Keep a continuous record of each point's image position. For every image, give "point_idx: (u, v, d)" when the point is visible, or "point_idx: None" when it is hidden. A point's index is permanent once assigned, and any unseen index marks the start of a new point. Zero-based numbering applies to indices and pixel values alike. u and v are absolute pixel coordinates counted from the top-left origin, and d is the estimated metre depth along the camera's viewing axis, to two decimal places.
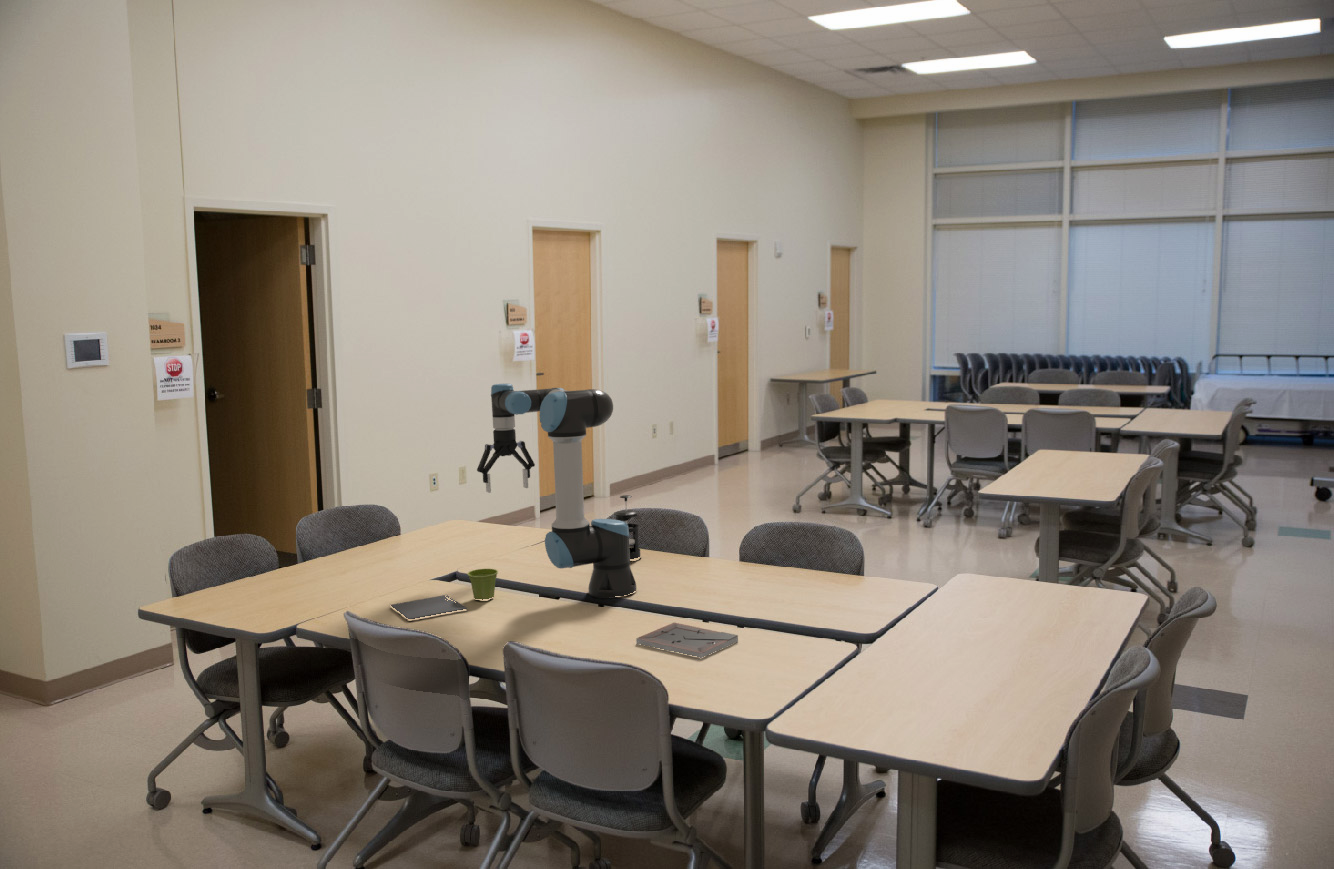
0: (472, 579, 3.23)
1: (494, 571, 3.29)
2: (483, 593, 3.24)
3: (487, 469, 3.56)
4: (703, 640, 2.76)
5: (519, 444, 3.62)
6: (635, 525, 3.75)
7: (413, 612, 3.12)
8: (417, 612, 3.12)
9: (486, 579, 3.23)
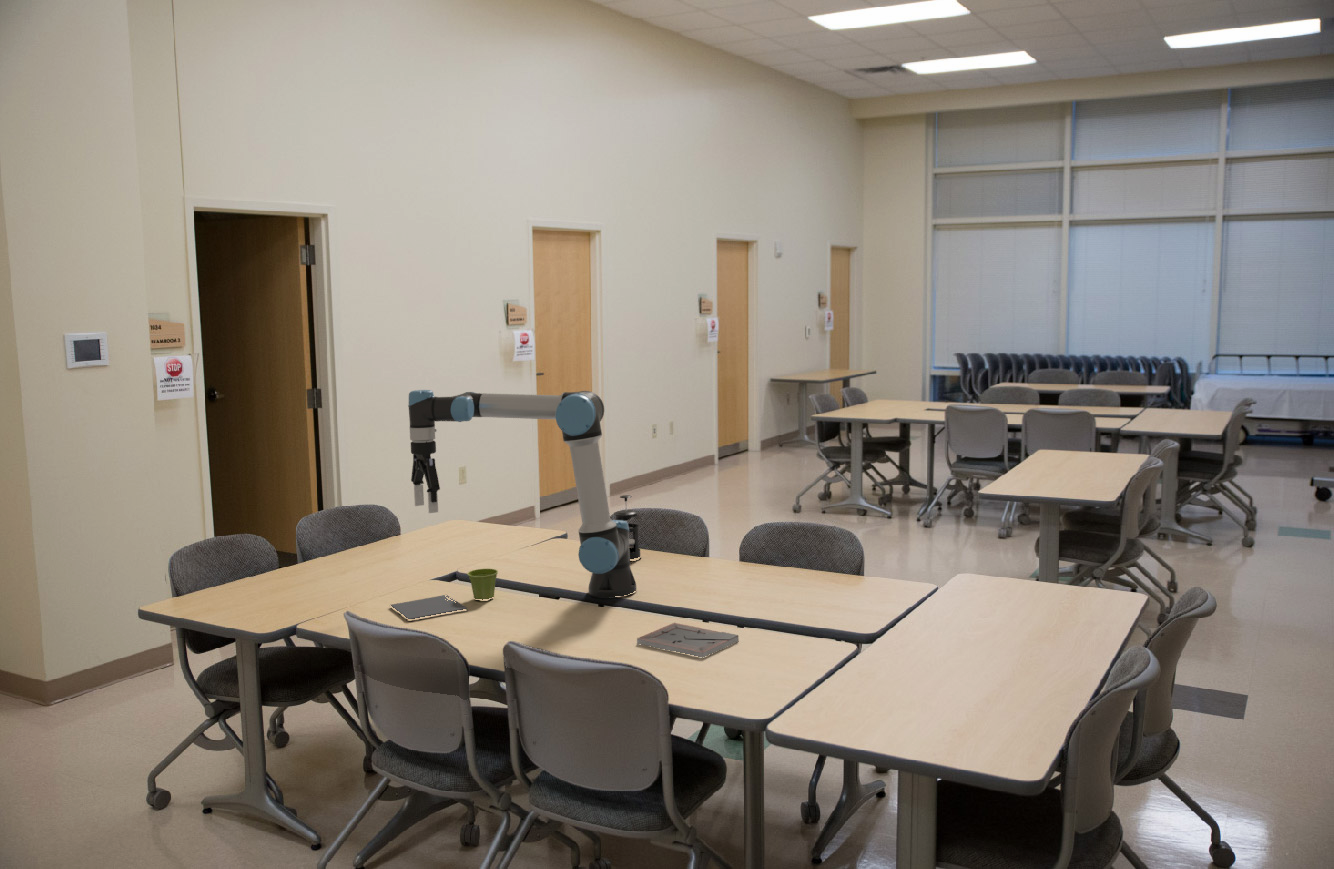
0: (472, 579, 3.23)
1: (494, 571, 3.29)
2: (483, 593, 3.24)
3: (414, 480, 3.27)
4: (704, 640, 2.77)
5: None
6: (635, 525, 3.75)
7: (413, 612, 3.12)
8: (417, 612, 3.12)
9: (486, 579, 3.23)
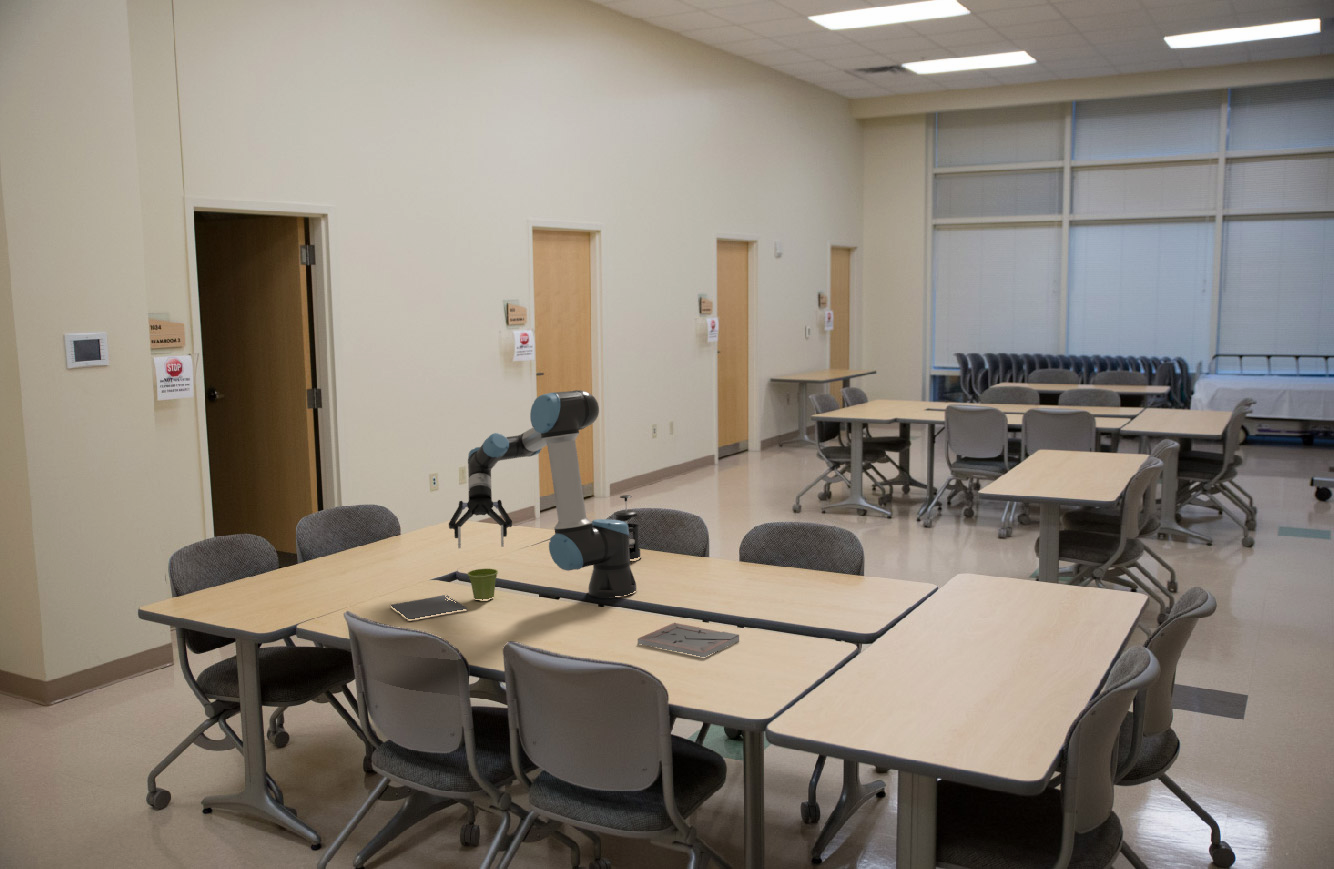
0: (472, 579, 3.23)
1: (494, 571, 3.29)
2: (483, 593, 3.24)
3: None
4: (705, 640, 2.77)
5: None
6: (635, 525, 3.75)
7: (413, 612, 3.12)
8: (417, 612, 3.12)
9: (486, 579, 3.23)
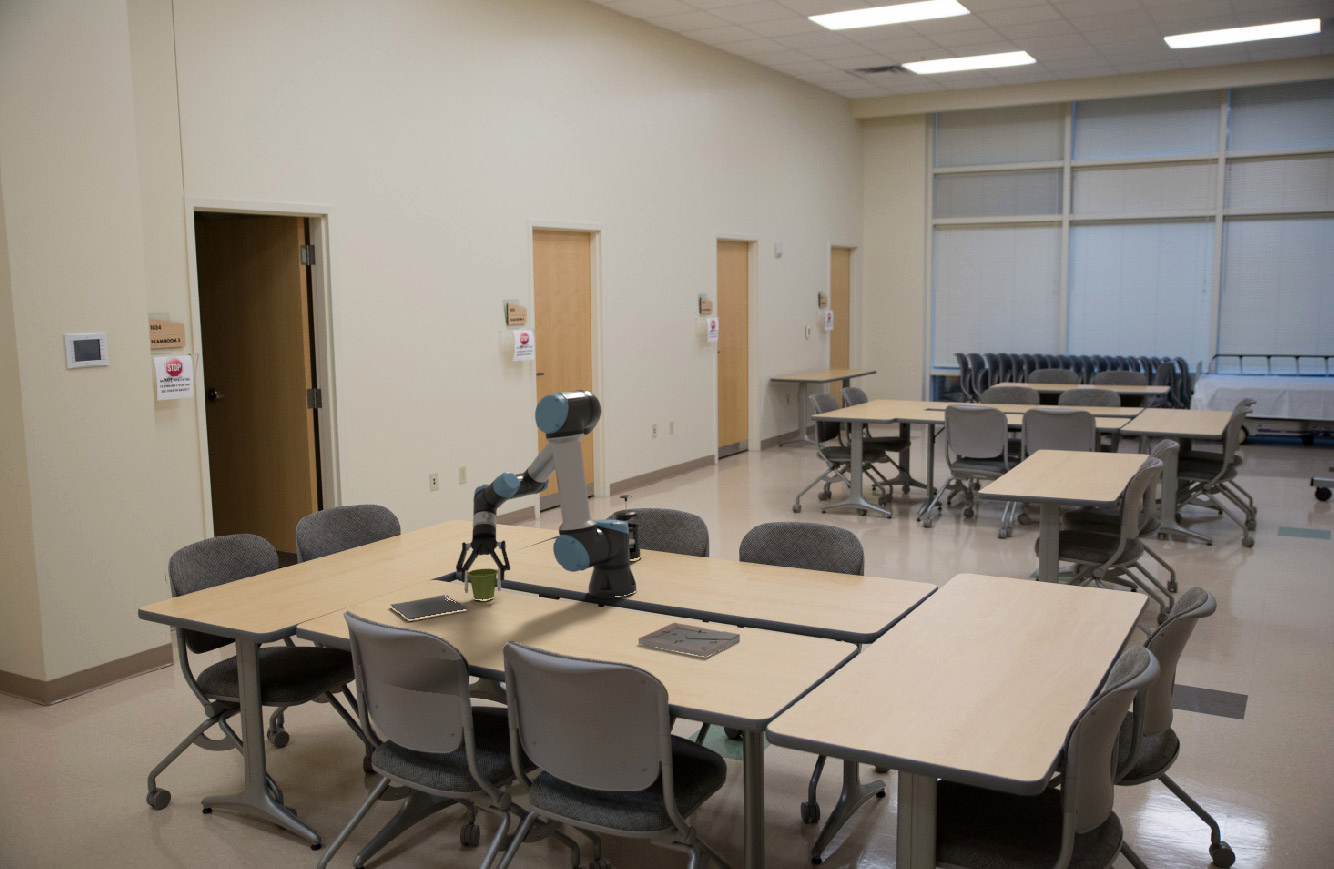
0: (472, 579, 3.23)
1: (494, 571, 3.29)
2: (483, 593, 3.24)
3: None
4: (705, 639, 2.77)
5: None
6: (635, 525, 3.75)
7: (413, 612, 3.12)
8: (417, 612, 3.12)
9: (486, 579, 3.23)
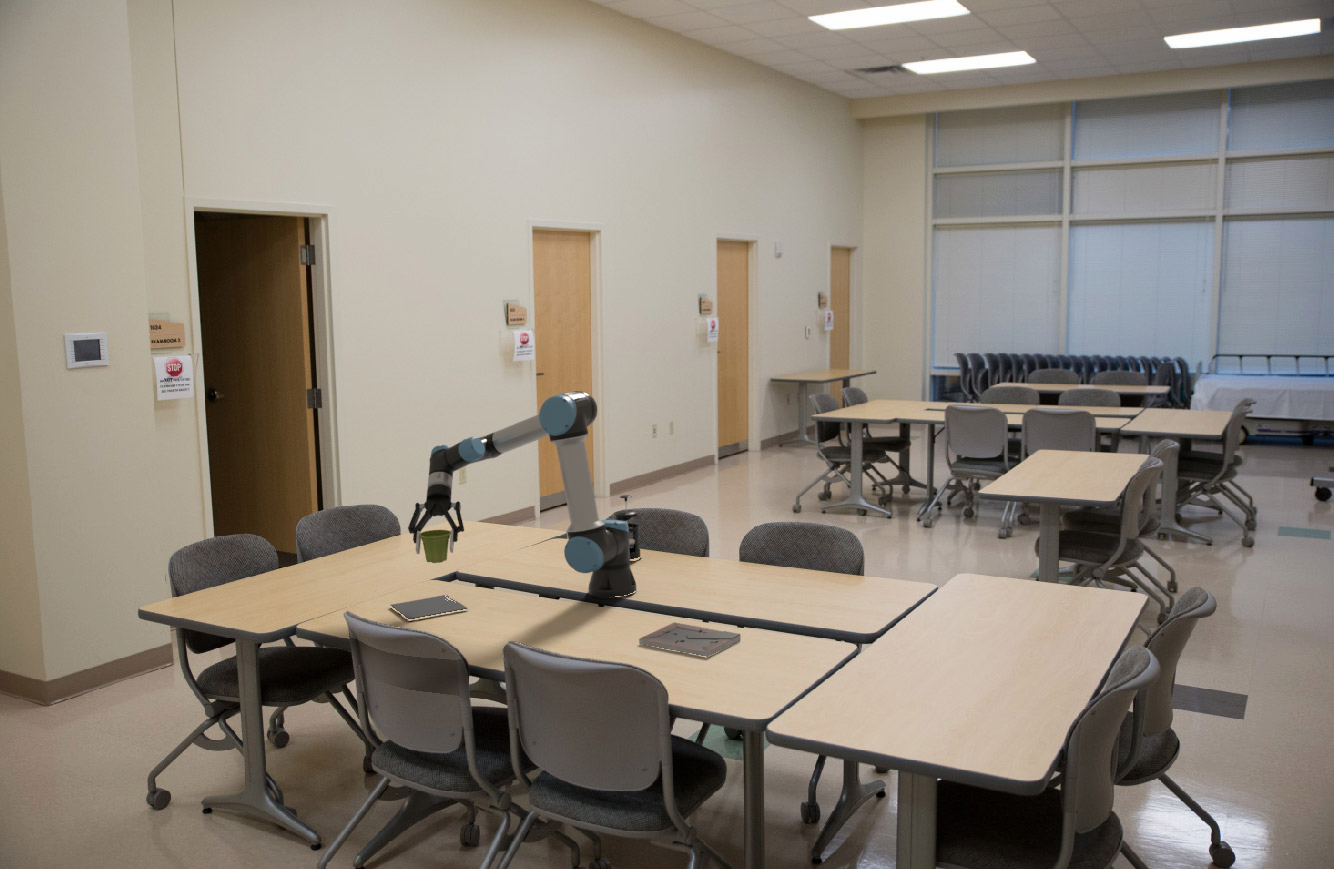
0: (424, 540, 3.15)
1: (447, 532, 3.21)
2: (435, 554, 3.15)
3: None
4: (706, 639, 2.77)
5: None
6: (635, 525, 3.75)
7: (413, 612, 3.12)
8: (417, 612, 3.12)
9: (438, 539, 3.14)
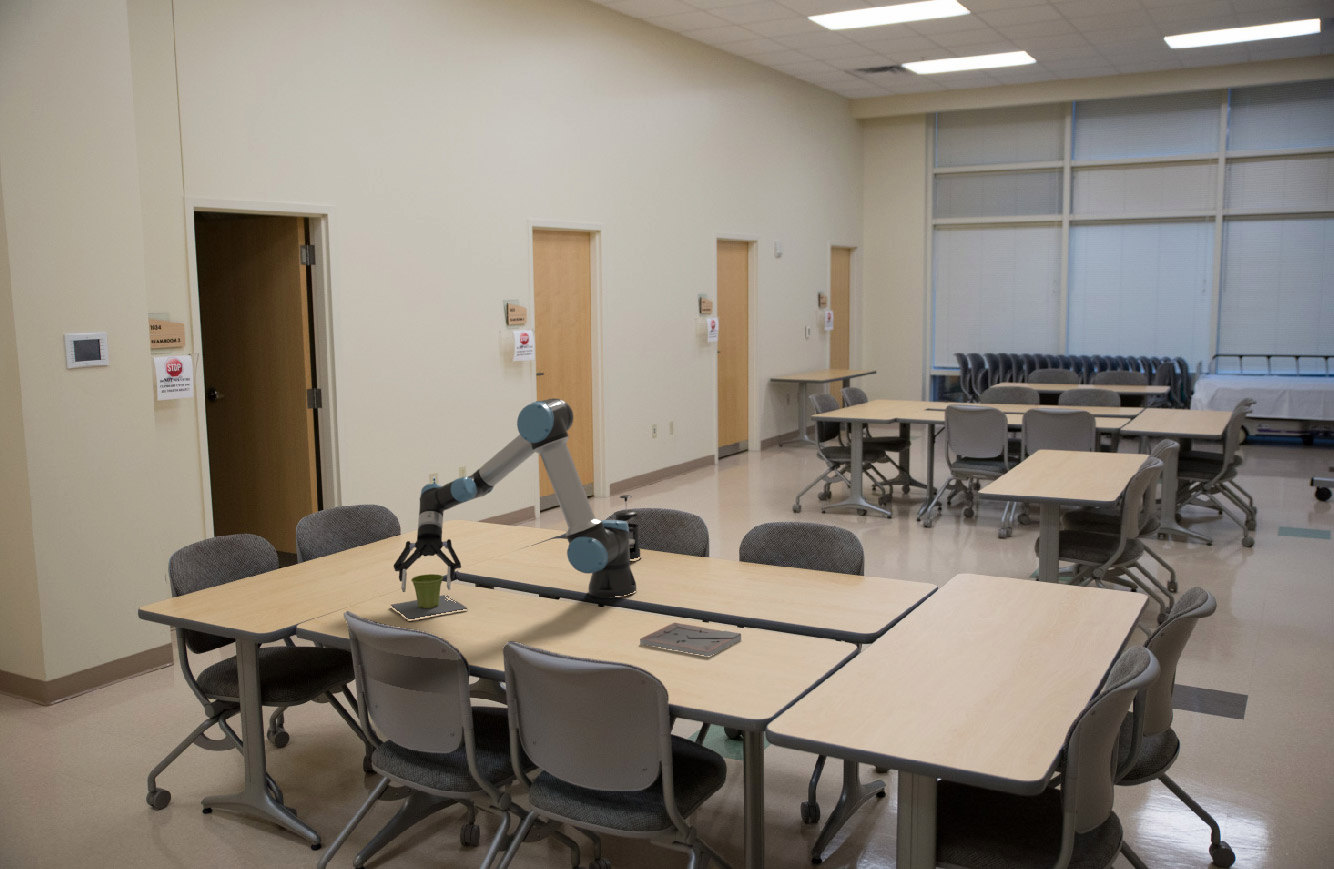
0: (416, 585, 3.14)
1: (439, 577, 3.20)
2: (427, 599, 3.15)
3: None
4: (707, 639, 2.77)
5: None
6: (635, 525, 3.75)
7: (413, 612, 3.12)
8: (417, 612, 3.12)
9: (430, 584, 3.14)
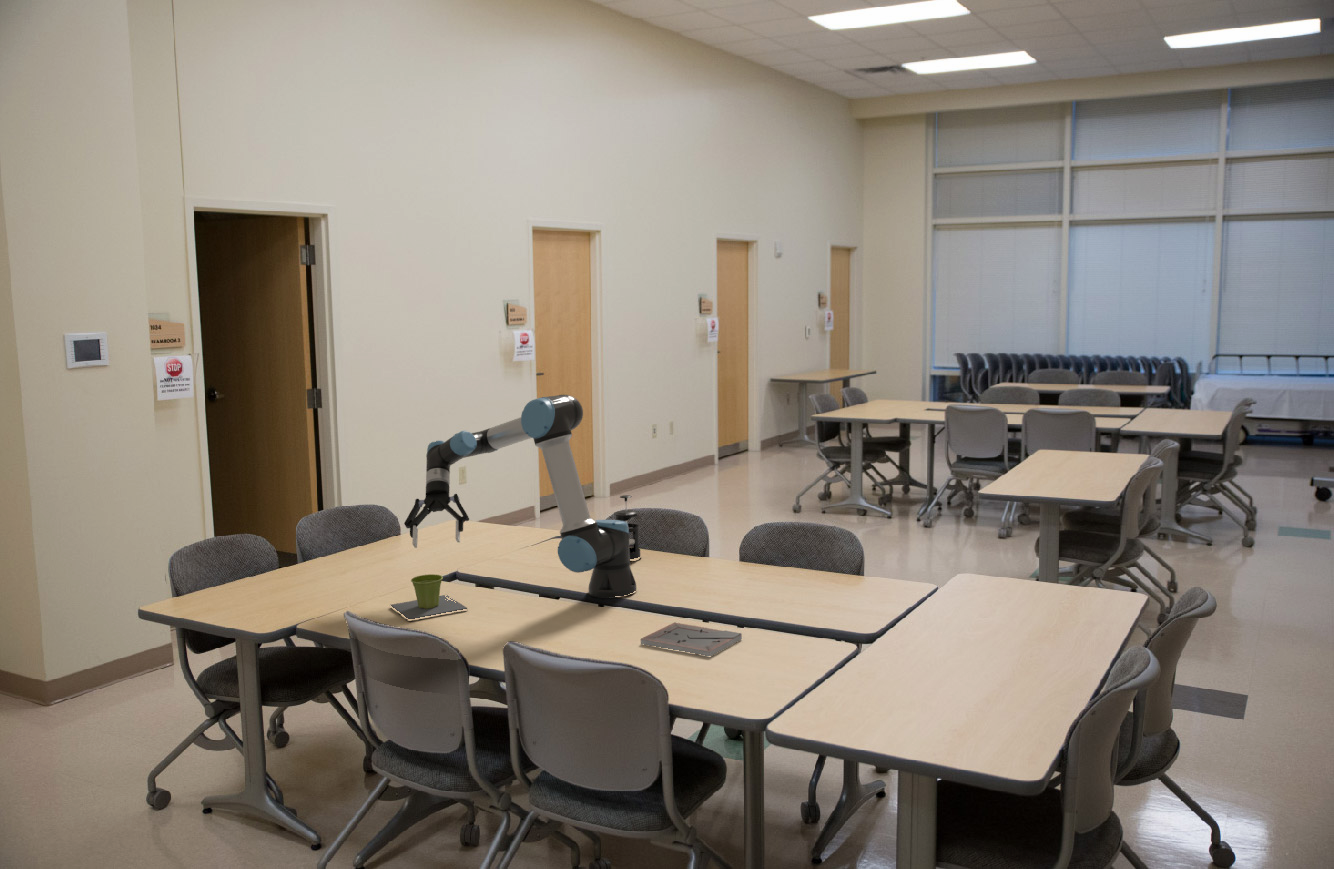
0: (415, 585, 3.14)
1: (439, 577, 3.20)
2: (427, 600, 3.15)
3: None
4: (708, 639, 2.77)
5: None
6: (635, 525, 3.75)
7: (413, 612, 3.12)
8: (417, 612, 3.12)
9: (429, 585, 3.14)
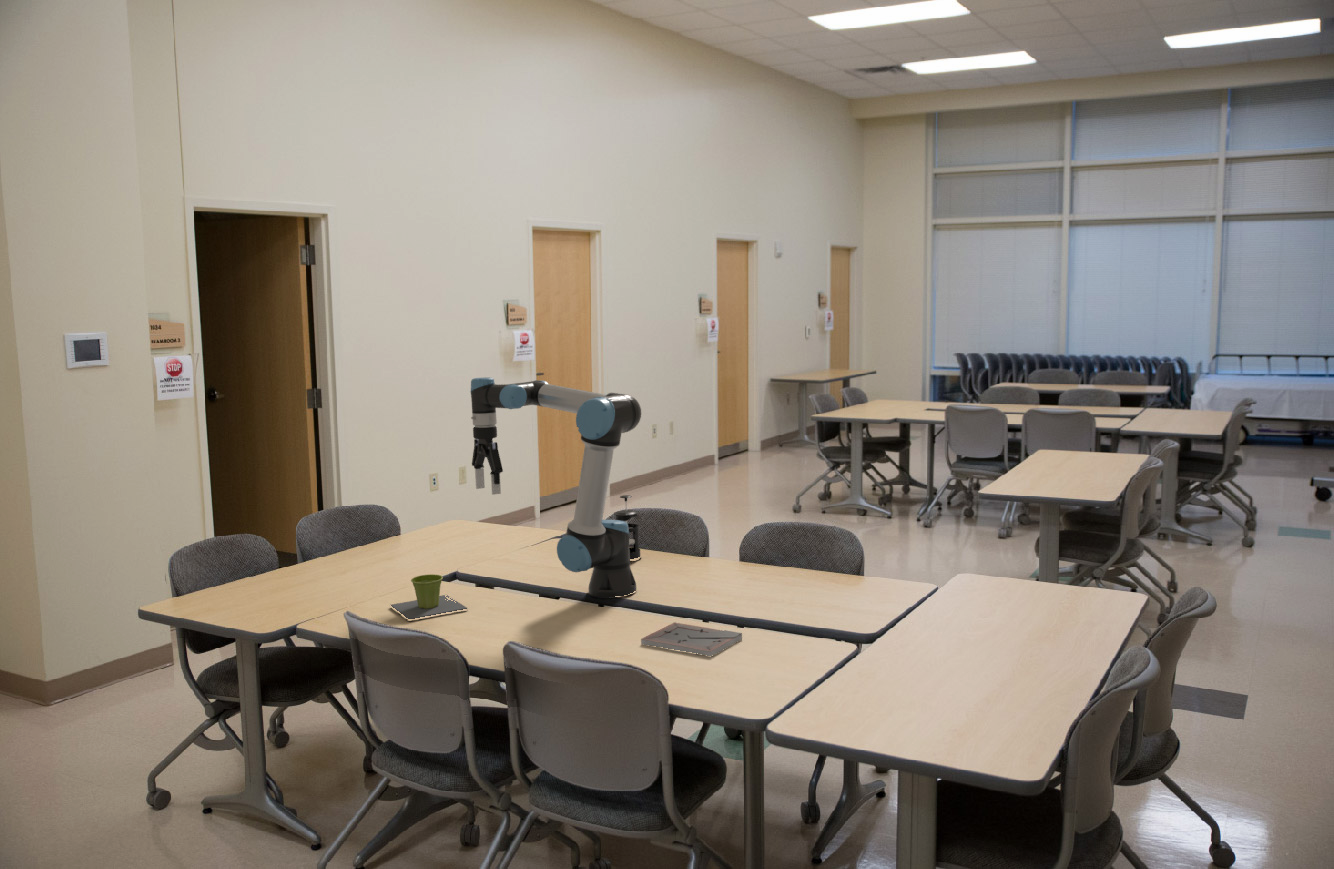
0: (415, 585, 3.14)
1: (439, 577, 3.20)
2: (427, 600, 3.15)
3: None
4: (708, 639, 2.78)
5: None
6: (635, 525, 3.75)
7: (413, 612, 3.12)
8: (417, 612, 3.12)
9: (429, 585, 3.14)
